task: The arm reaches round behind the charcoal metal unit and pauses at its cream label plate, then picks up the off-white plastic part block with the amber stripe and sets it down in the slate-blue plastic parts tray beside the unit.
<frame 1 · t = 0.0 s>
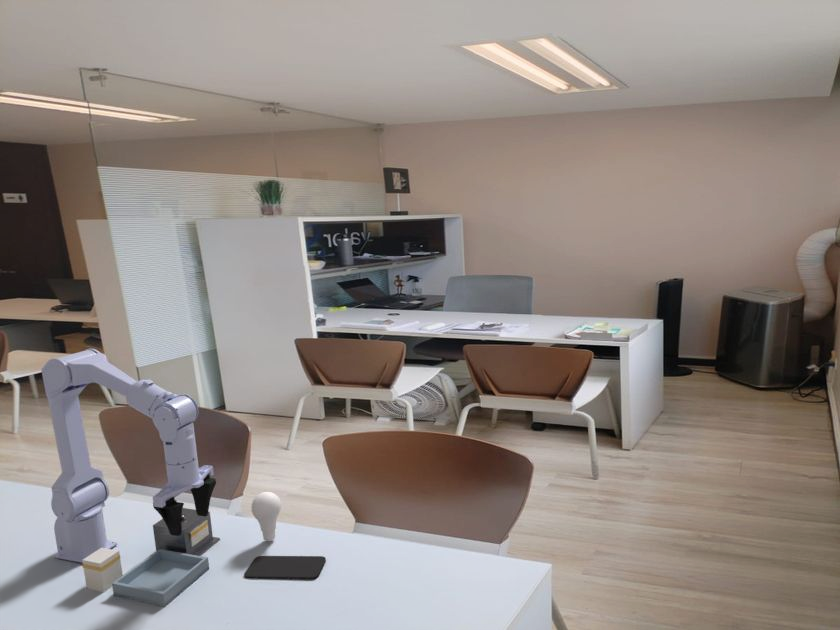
hand: (189, 524, 120), 10 cm above the table, fingers open, 7 cm apart
lightbulb: (269, 541, 132), on the table
part block: (105, 583, 119), on the table
tray: (162, 581, 119), on the table
phone: (285, 570, 121), on the table
unit: (185, 548, 130), on the table
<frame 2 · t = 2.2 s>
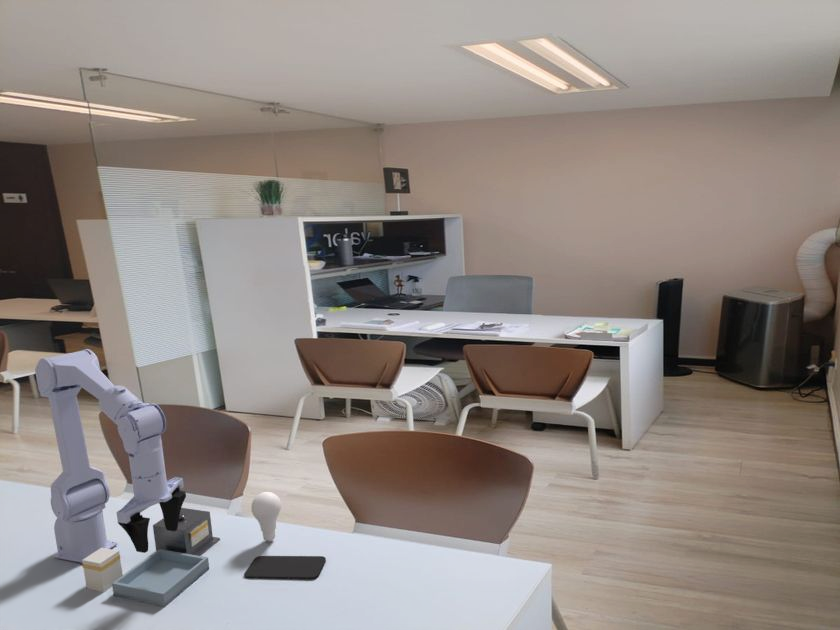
hand: (157, 540, 114), 10 cm above the table, fingers open, 7 cm apart
nothing on the table moved.
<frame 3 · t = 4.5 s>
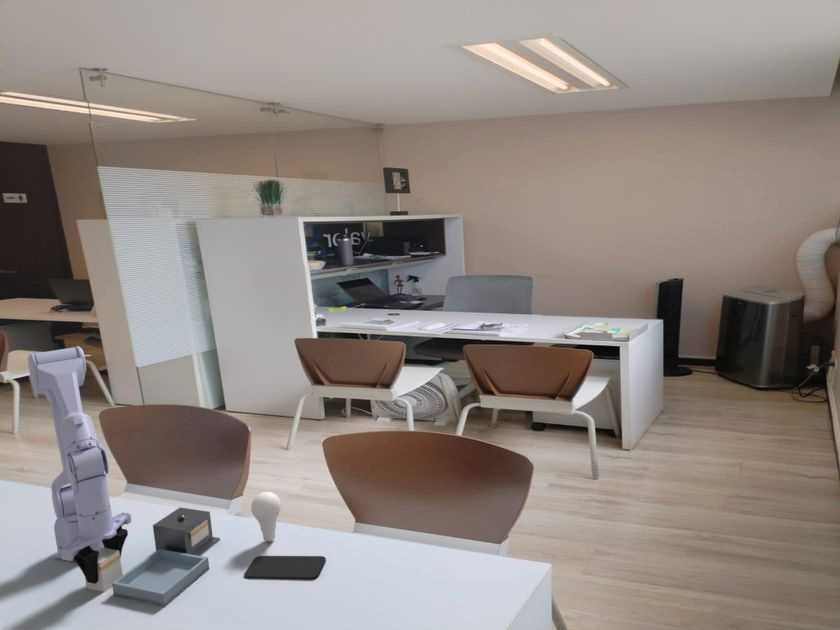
hand: (103, 574, 119), 2 cm above the table, fingers closed on part block, 4 cm apart
part block: (105, 583, 119), on the table, touching gripper
everything else where it was.
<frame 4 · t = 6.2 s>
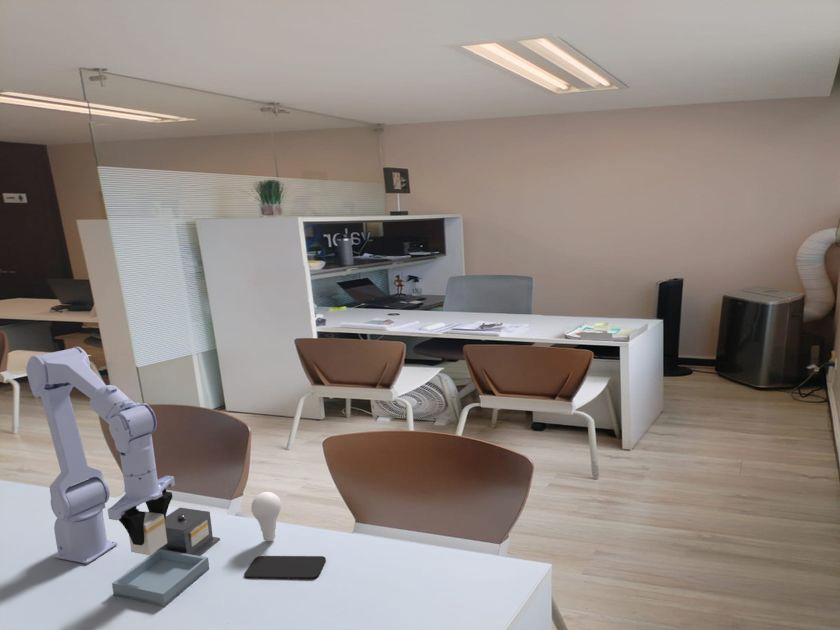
hand: (148, 536, 117), 10 cm above the table, fingers closed on part block, 4 cm apart
part block: (149, 547, 118), point 7 cm above the table, touching gripper
everything else where it was.
when the fingers open (4 cm above the table, at t = 7.8 s): part block drops 1 cm, resting on tray.
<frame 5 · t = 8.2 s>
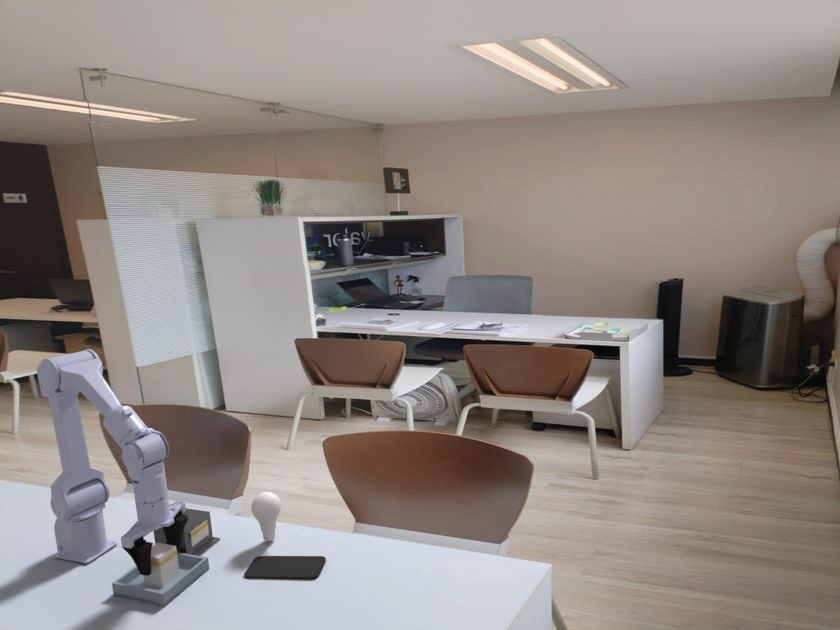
hand: (160, 562, 118), 4 cm above the table, fingers open, 7 cm apart
part block: (162, 578, 119), point 1 cm above the table, touching tray
everything else where it was.
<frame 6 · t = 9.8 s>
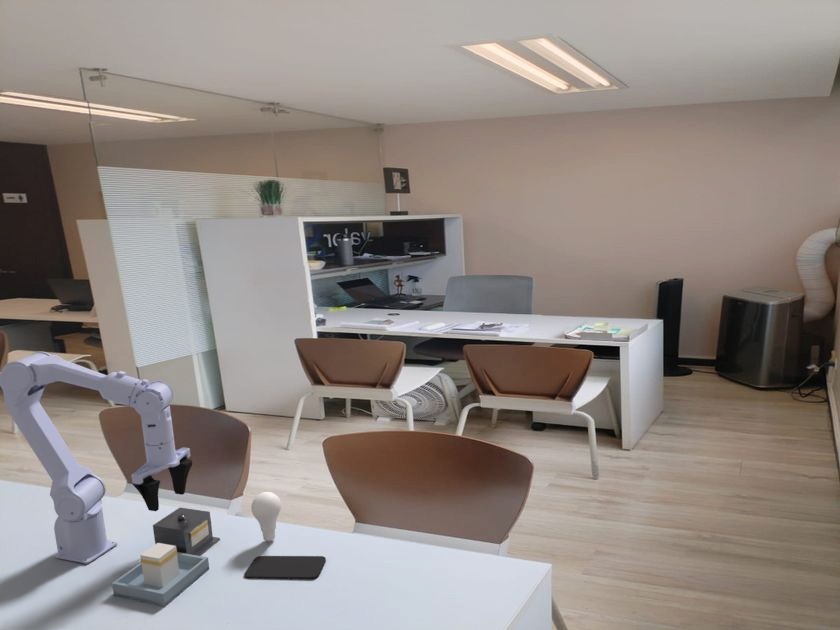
hand: (167, 501, 130), 10 cm above the table, fingers open, 7 cm apart
nothing on the table moved.
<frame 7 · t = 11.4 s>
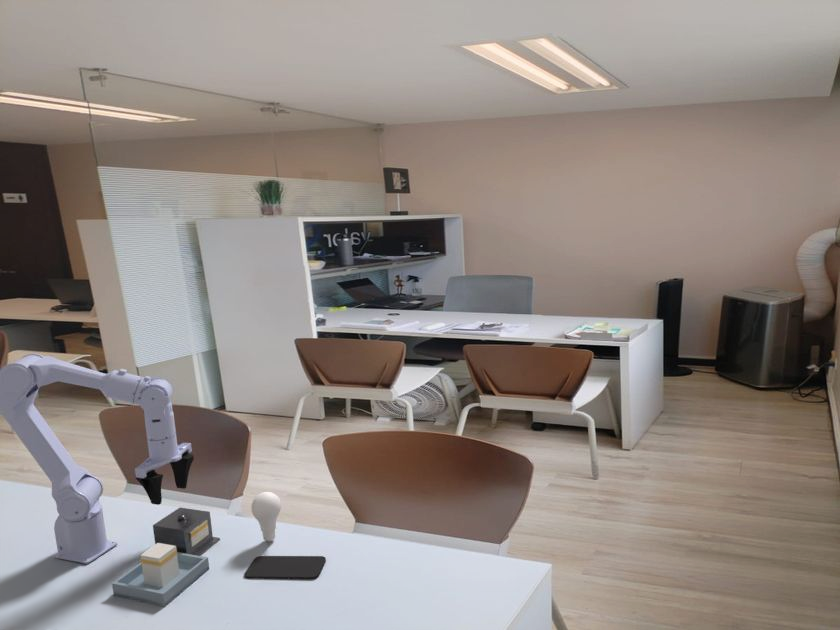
hand: (169, 495, 133), 10 cm above the table, fingers open, 7 cm apart
nothing on the table moved.
at the end: part block inside the target area on the tray (0.1 cm from its centre), point 0.6 cm above the tray's base; part block tilted 0°; the gripper is holding nothing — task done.
